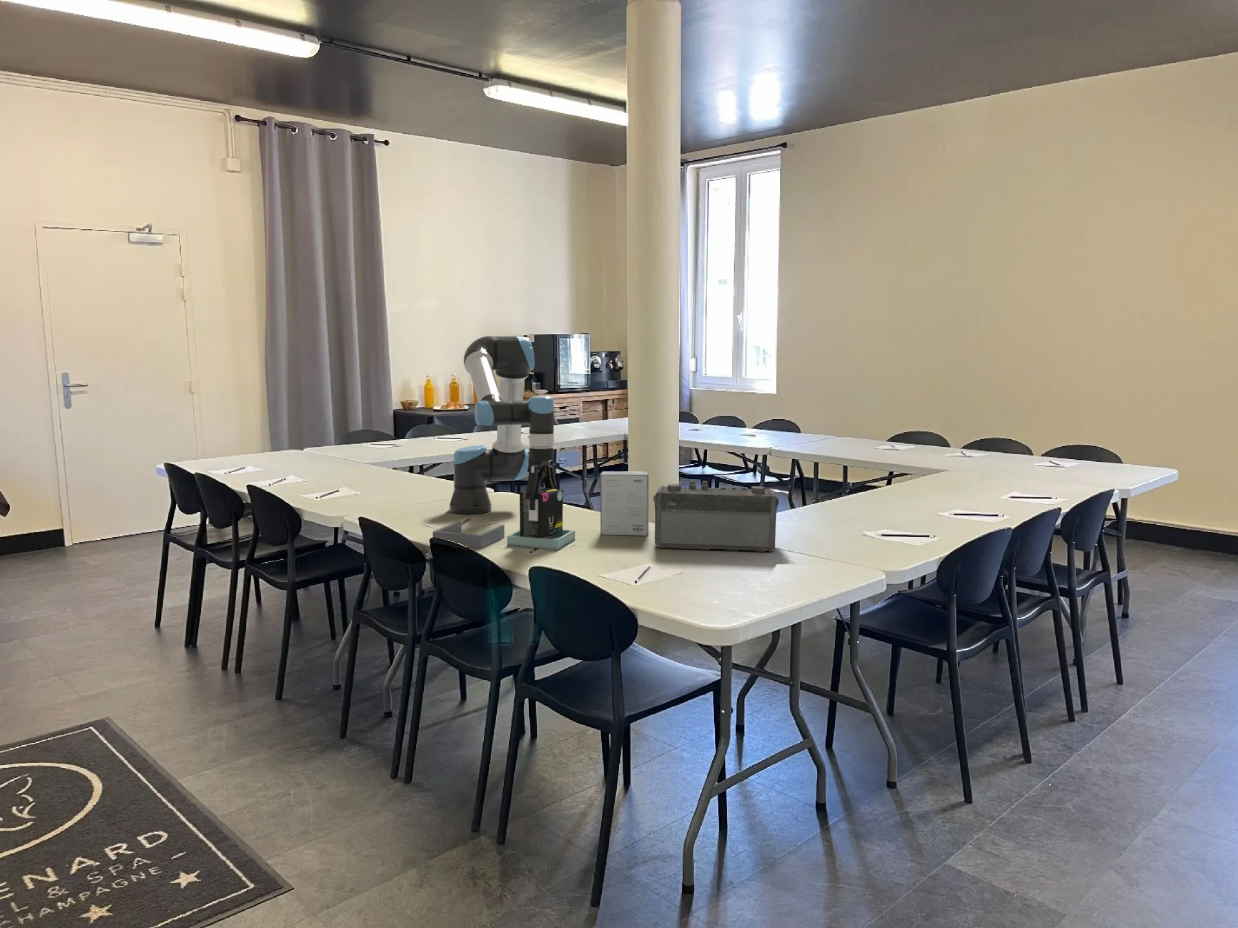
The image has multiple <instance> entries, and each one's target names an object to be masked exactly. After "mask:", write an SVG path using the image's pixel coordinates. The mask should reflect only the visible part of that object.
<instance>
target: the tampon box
mask: <svg viewBox="0 0 1238 928" xmlns="http://www.w3.org/2000/svg"><path fill="white" fill-rule="evenodd" d="M525 495H526V489H524V490H520V491H519V530H520V536H521V537H533V538H544V539H552V538H555V537H559V536H562V535H563V525H564V522H563V520H564V519H563V517H564V513H563V512H564V490H563V489H558V488H556V489H552V488H545V487H542V486H540V488H539V491H538V495H537V499H538V521H531V520H529V499H526V498H525Z"/></svg>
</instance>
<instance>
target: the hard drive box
mask: <svg viewBox="0 0 1238 928" xmlns="http://www.w3.org/2000/svg"><path fill="white" fill-rule="evenodd" d="M649 474H650V473H649V471H628V470H627V471H615V470H614V471H613V470H612V471H605V470H604V471H602V472H601V473H600V475H599V484H600V486H599V490H600V492H599V494H600V495H599V496H600V500H599V502H600V505H599V506H600V507H599V508H600V511H599V513H600V515H599V516H600V519H599V520H600V524H599V525H600V533H599V534H600V536H601V535H603V536H604V535H605V536H606V535H608V536H645V537H646V536H648V535H649V530H650V529H649V525H650V524H649V521H650V520H649V515H650V514H649V511H650V510H649V505H650V502H649V493H650V491H649V489H650V488H649V487H650V484H649V483H650V482H649Z"/></svg>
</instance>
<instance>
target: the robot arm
mask: <svg viewBox="0 0 1238 928" xmlns="http://www.w3.org/2000/svg"><path fill="white" fill-rule="evenodd" d="M535 362H536V361H535V353H534V348H533V345H532V342H531V340H530V338H528V337H526V336H518V335H514V336H512V335H510V336H509V335H508V336H506V335H505V336H501V335H500V336H491V335H487V336H482V337H478V338H477V339H475V340H474V341H473V342H472V343H470V345H468V346H467V348H466V350H465V352H464V356H463V365H464V368H465V371H466V373H468V374H469V375H470V378H471V381H472V385H473V389H474V391H475V395H476V398H477V401H476V402H475V405H474V420H475V423H476V424H477V425H478V426H487V427H491V426H497V430H496V433H497V434H496V440H495V441H494V442H493V443H492V448H491V449H487V447H486V445H482V444H481V445H469V446H465V447H461V448H458V449H456V450H455V451H454V452H453V462H452V464H453V492H452V496H451V499H450V502H449V512H450V513H453V514H458V515H459V514H461V515H476V514H477V515H478V514H484V513H489V512H490V511H492V502H491V499H490V496H489V493H488V489H487V482H503V481H504V482H506V481H511V482H512V481H518V480H523V479H524V478H525V476H526V475H527V473H528V477H527V482H526V483H527V484H526V489H525V490H526V495H525V498H526V499H529V520H531V521H538V499H537V495H538V491H539V488H540V487H541V483H543V484H544V485H543V486H544V488H552V489H558V486H557V480H556V474H555V468H554V463H555V462H554V457H555V449H554V445H555V432H554V431H555V429H554V428H555V427H554V426H555V425H554V424H555V421H554V420H555V412H554V411H555V403H554V398H553V397H552V396H551V395H550V396H547V395H534V396H530V397H529V399H527V400H524V390H525V389H524V388H525V387H524V384H525V380H526V379H527V378H528V377H529V373H530V371H533V370H534V369H535ZM494 371H495V372H494ZM495 375H496V376H497V378H498V379H499V383H498V382H497V379H496V376H495ZM498 384H499V385H498ZM522 425H524V426H525V425H528V431H529V432H528V433H529V435H528V436H527V439H529V441H528V444H529V446H530V447H529V448H528V449H527V448H525V444H524V443H523V442H522V440H521V439H522ZM529 460H530V461H533V465H529ZM542 481H543V482H542Z"/></svg>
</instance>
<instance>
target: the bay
mask: <svg viewBox="0 0 1238 928" xmlns="http://www.w3.org/2000/svg"><path fill="white" fill-rule="evenodd" d="M505 534H506V533H505V525H504V524H499V525H498V526H495V527H493V528H490V529H489V530H487V531H485V532H482V533H480V534H475V533H468V532H467V533H465V532H464V533H463V532H462V521H456V522H453V523H450V524H448V525H446V526H443V527H440V528H437V529H435V530H433V531H432V538H433V537H437V538H443V539H445V540H450V541H454V542H456V543H460V544H462V545H464V546H467V547H466V548H468V547H470V549H479V550H481V549H484V548H486V547H488V546H490V545H492V544H494V543H496V542H498V541H500V540H502V539H504V538H505V537H506V535H505Z"/></svg>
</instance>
